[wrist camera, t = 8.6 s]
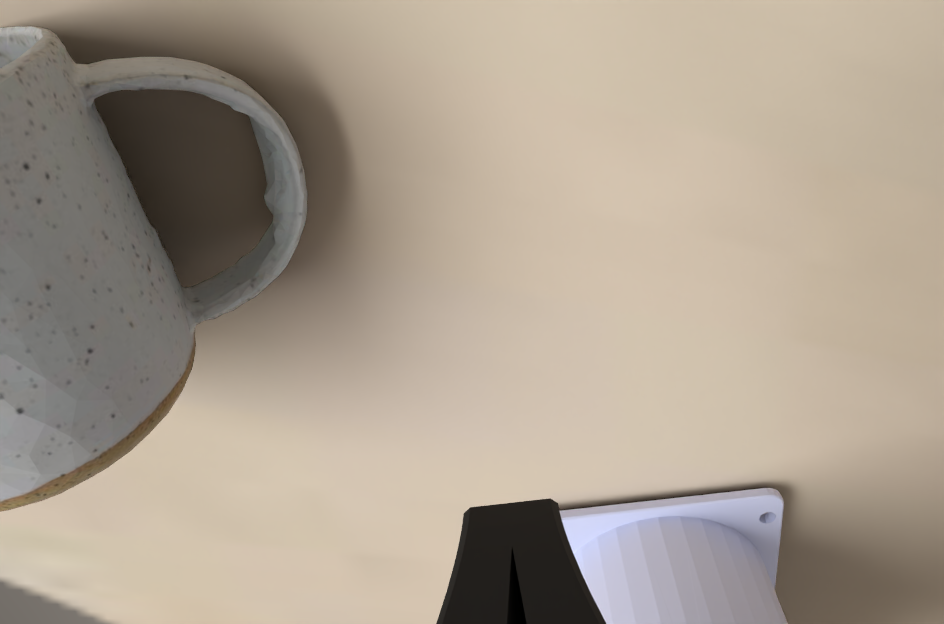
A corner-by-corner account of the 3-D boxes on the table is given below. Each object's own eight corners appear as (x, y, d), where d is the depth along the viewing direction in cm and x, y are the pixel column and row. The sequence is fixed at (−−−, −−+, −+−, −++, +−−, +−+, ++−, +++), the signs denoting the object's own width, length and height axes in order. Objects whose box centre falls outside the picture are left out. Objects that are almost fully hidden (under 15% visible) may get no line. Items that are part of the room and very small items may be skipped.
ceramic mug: (2, 361, 23) (-170, 591, 16) (-205, 83, 18) (-557, 246, 12) (361, 271, 21) (328, 480, 15) (232, -51, 17) (107, 49, 10)
